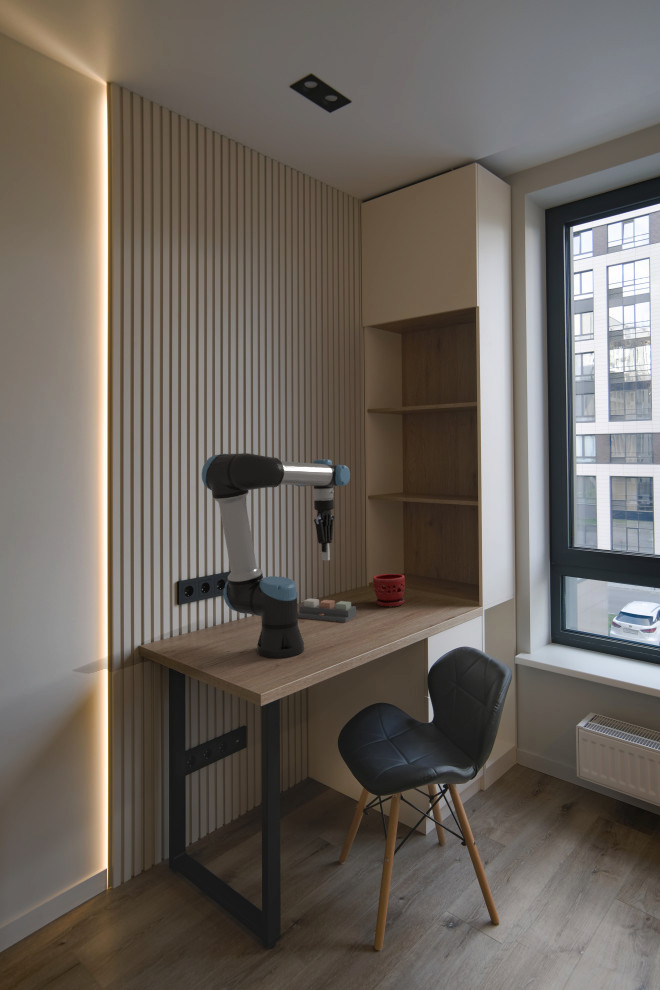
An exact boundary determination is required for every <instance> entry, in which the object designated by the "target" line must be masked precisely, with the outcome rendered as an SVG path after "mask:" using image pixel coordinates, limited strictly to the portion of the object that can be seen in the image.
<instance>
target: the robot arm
mask: <svg viewBox="0 0 660 990" xmlns="http://www.w3.org/2000/svg"><path fill="white" fill-rule="evenodd" d="M201 479H202V484H203V485H204V487H206V489H208V490H210V491H211V495H212V499H213V500H215V501H216V502H217V503H218V507H219V512H220V518H221V521H222V522H221V523H222V528H223V534H224V540H225V545H226V550H227V557H228V562H229V568H230V573H229V574H228V576H227V581H226V582H225V585H224V588H223V591H222V593H223V599H224V603H225V604H226V606H227V607H228V608H229V609H230V610H232V611H235V612H238V613H240V614H248V615H253V616H257V617H258V616H260V617H261V630H260V632H259V633H260V634H259V637H258V641H257V645H256V651H257V652H256V653H257V654H258V655H260V656H262V657H264V658H271V659H274V658H275V659H281V658H282V659H283V658H290V657H295V656H298V655H300V654H301V653H303V652H305V642H304V639H303V637H302V633H301V631H300V628H299V624H298V621H299V618H298V613H299V611H298V591H297V584H296V582H295V581H294V580H292V579H291V578H289V577H285V576H275V575H273V576H272V575H271V576H266V577H264V575H263V570H262V569H261V568H259V567H258V566H257V561H256V560H257V559H256V554H255V549H254V542H253V538H252V532H251V525H250V520H249V515H248V514H249V513H248V508H247V503H246V497H247V496H248V494H250V492H249V491H252V490H259V489H265V488H278V487H279V486H280V485H285V486H286V485H287V486H288V485H290V486H297V487H313V499H314V502H313V505H314V507H313V508H314V510H315V511H317V515H316V516H317V518H314V520H313V521H314V524H315V529H316V535H317V536H316V537H317V543H318V544H319V545H320V544H321V545H320V547H321V560H322V561H330V560H331V558H330V557H331V556H330V555H331V553H330V551H331V550H330V543H331V544H332V543H333V541H332V540H333V532H334V521H335V515H332V511H331V510H334V508H335V507H334V505H335V504H334V501H335V500H334V492H335V491H334V487H341V486H343V487H344V486H347V484H349V482H350V480H351V471H350V469H349V467H348V466H347V465H344V464H333V462H332V460H331V459H329V458H328V459H327V458H326V459H314V460H313V461H312V463H310V462H299V461H298V462H296V461H286V460H285V461H284V460H281V459H280V458H278V457H272V456H265V455H260V454H254V453H247V452H246V453H245V452H243V453H241V452H240V453H220V454H219V453H218V454H215V455H212V456H210V457H208V459H207V460H206V461H205V463H204V464H203V466H202V469H201Z"/></svg>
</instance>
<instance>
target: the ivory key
mask: <svg viewBox="0 0 660 990" xmlns="http://www.w3.org/2000/svg"><path fill="white" fill-rule="evenodd" d="M319 603H320V600H319V598H318V599H317V598H307V599H305V600H303V604H304V606H308V607H316V606H318V605H319Z"/></svg>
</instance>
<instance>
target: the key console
mask: <svg viewBox="0 0 660 990" xmlns="http://www.w3.org/2000/svg"><path fill="white" fill-rule="evenodd" d="M298 610H299V611H298V619H306V618H309V620H316V619H319V621H326V620H329V621H328V622H336V621H338V622H337V623H345V622H346V623H347V622H349V621H350V619H351V620H352V619H354V618H355V616H356V617H357V607H356V606H355V605H353V606H352V605H351V608H350V609H348V610H340V609H336V604H335V606H334V607H332V608H331V609H329V608H320V602H319V605H318V606H316V607H308V606H304V603H303V604H302V605H301V604H300V606H298ZM353 617H354V618H353Z"/></svg>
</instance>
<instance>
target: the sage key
mask: <svg viewBox="0 0 660 990" xmlns="http://www.w3.org/2000/svg"><path fill="white" fill-rule="evenodd" d="M335 605H336V609H340V610H348V609H350V608H351V606H352V602H351V601H344V600H340V601H337V602H336V603H335Z"/></svg>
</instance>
